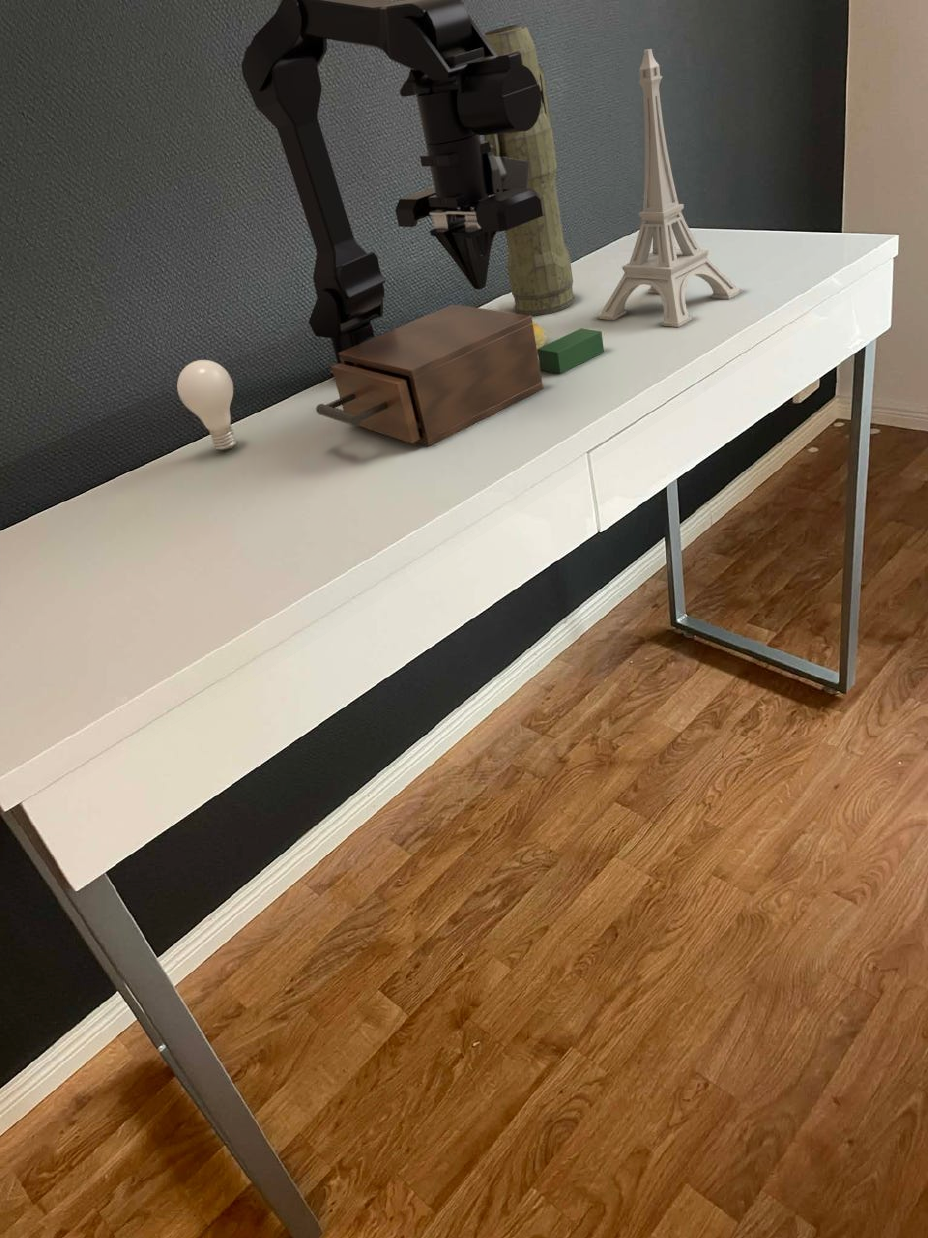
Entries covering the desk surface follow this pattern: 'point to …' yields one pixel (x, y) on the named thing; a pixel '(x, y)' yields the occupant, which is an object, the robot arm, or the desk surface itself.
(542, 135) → the thermos
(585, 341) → the dark green foam brick
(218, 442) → the lightbulb
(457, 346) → the cabinet
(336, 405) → the drawer
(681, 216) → the eiffel tower
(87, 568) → the desk surface
